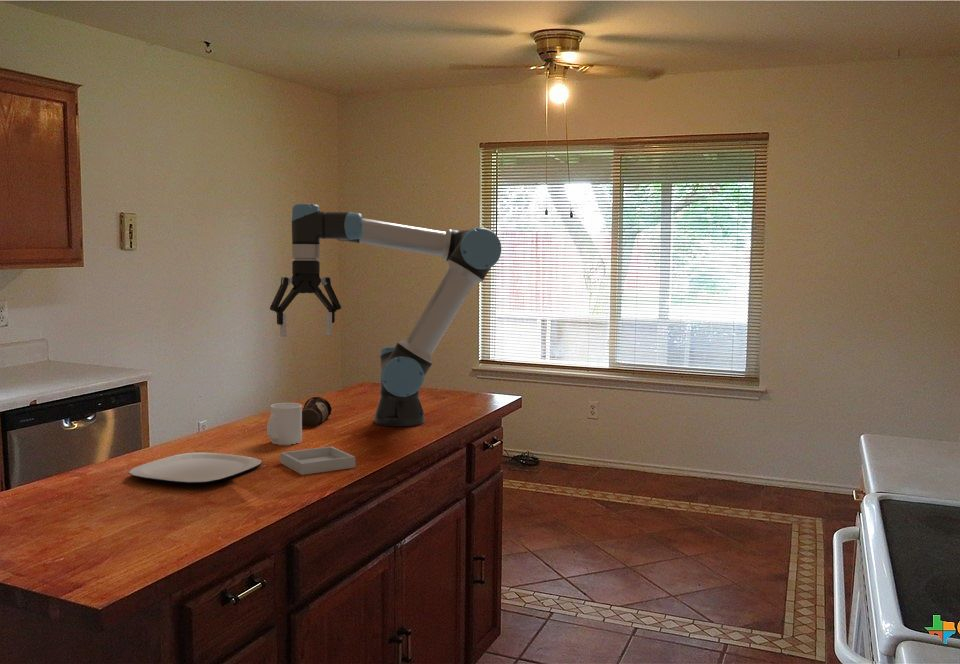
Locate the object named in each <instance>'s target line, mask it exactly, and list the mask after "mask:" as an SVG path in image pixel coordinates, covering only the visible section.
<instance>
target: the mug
mask: <svg viewBox="0 0 960 664" xmlns="http://www.w3.org/2000/svg"><path fill="white" fill-rule="evenodd" d="M302 410H303V405H302V404H301V403H297V402H279V403H273V404H271V405H270V416H269V418H268V420H267V424H266V433H267V436H268V438H269V439H270V442H271V443H272V444H273V445H275V444H278V445H277V446H292V445H291V444H294V445H297V444H296V443H298V444H300V443H301V442H302V440H303V426H302Z"/></svg>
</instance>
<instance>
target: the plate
mask: <svg viewBox="0 0 960 664" xmlns="http://www.w3.org/2000/svg"><path fill="white" fill-rule="evenodd" d="M262 462H263V461H262V460H261V459H258V458H256V457H250V456H245V455H238V454H227V453H221V452H220V453H219V452H218V453H217V452H216V453H215V452H205V451H203V452H186V453H180V454H175V455H170V456H166V457H164V458H160V459H157V460H153V461H150V462H147V463H143V464H141V465H138V466H136V467H133V468H131V469H130V471H128V474H129V475H130V476H132V477H134V478H141V479H145V480H152V481H160V482H167V483H168V482H169V483H177V484H206V483H213V482H218V481H221V480H225V479H228V478H232V477H235V476H238V475H240V474H242V473H245V472H248V471H250V470H253V469H255V468H256V467H258V466H260V465H261V464H262Z"/></svg>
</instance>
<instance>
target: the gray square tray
mask: <svg viewBox="0 0 960 664" xmlns="http://www.w3.org/2000/svg"><path fill="white" fill-rule="evenodd" d="M280 464H281V465H284V466H285V467H287V468H289V469H291V470H293V471H295V472H296V473H298V474H299V475H301V476H304V475H312V474H319V473H325V472H333V471H338V470H346V469H348V470H349V469H353V468H356V456H355V455H352V454H351V453H348V452H346V451H344V450H341V449H339V448H336V447H334V446H332V445H331V446H324V447H315V448H307V449H299V450H292V451H291V450H290V451H283V452H280Z"/></svg>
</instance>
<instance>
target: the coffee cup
mask: <svg viewBox="0 0 960 664" xmlns="http://www.w3.org/2000/svg"><path fill="white" fill-rule="evenodd" d="M332 411H333V409H332V406H331V404H330V402H329V401H328V400H327V399H325V398H323V397H319V396H313V397H311V398H309V399H307V401H306V402H305V403H304V405H303V407H302V427H304V428H305V427H310V428H311V427H312V428H313V427H315V428H316V427H317V426H318V425H321V424H322V422H324V421H325V420H327V419H328V418H329V417H330V415H331V414H332Z"/></svg>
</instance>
